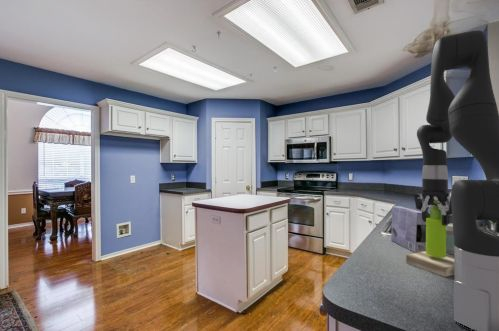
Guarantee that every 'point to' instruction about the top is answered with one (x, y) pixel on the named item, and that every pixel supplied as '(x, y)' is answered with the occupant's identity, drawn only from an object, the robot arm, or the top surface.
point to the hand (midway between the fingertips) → (435, 223)
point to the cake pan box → (408, 229)
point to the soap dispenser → (435, 233)
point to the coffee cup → (449, 239)
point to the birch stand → (432, 263)
